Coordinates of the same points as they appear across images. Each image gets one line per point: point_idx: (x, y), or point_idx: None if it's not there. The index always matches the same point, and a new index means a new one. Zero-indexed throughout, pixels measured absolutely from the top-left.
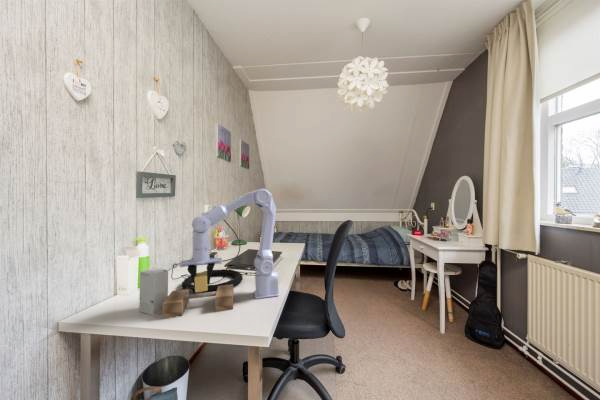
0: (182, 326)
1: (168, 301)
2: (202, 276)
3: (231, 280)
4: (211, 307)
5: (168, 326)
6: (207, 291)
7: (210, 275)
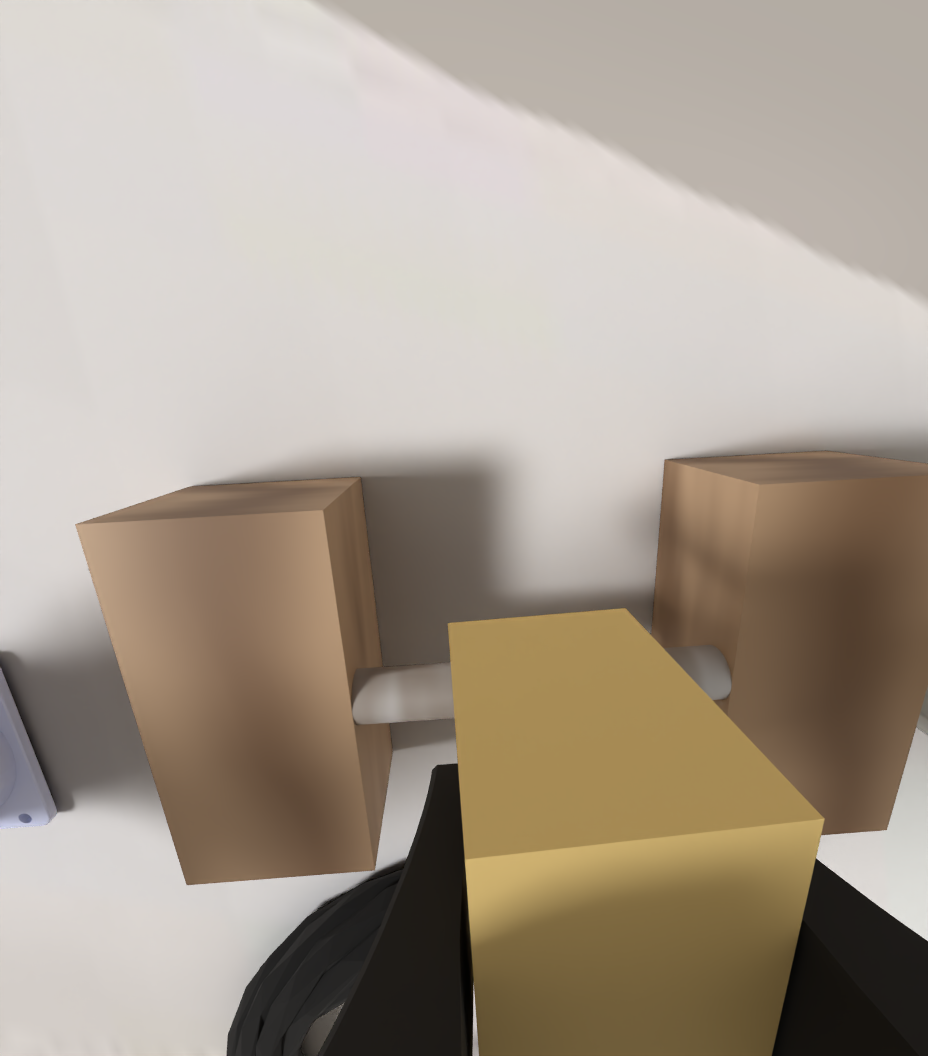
0: (627, 224)
1: (920, 533)
2: (591, 893)
3: (296, 1022)
4: (419, 575)
5: (758, 266)
6: None
7: (370, 952)
